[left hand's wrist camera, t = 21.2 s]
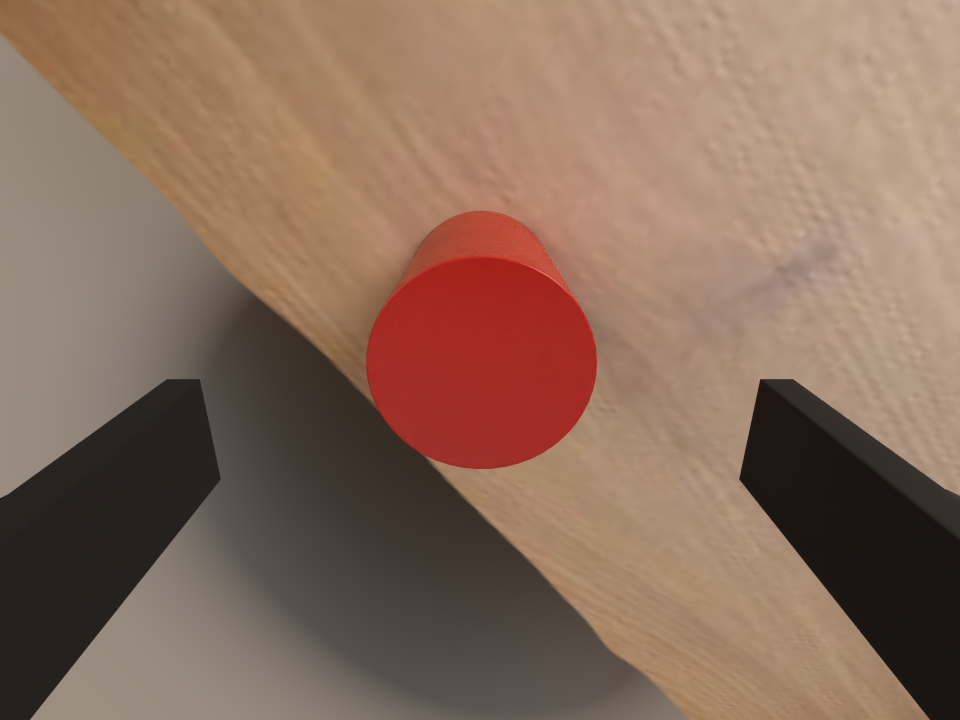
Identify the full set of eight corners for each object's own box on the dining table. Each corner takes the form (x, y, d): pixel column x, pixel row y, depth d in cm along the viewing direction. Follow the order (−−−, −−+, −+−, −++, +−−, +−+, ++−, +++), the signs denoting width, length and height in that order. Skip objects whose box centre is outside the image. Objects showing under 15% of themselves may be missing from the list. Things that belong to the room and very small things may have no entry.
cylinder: (573, 311, 26) (632, 414, 16) (453, 369, 28) (437, 500, 17) (513, 183, 24) (536, 210, 14) (385, 253, 25) (320, 324, 15)
